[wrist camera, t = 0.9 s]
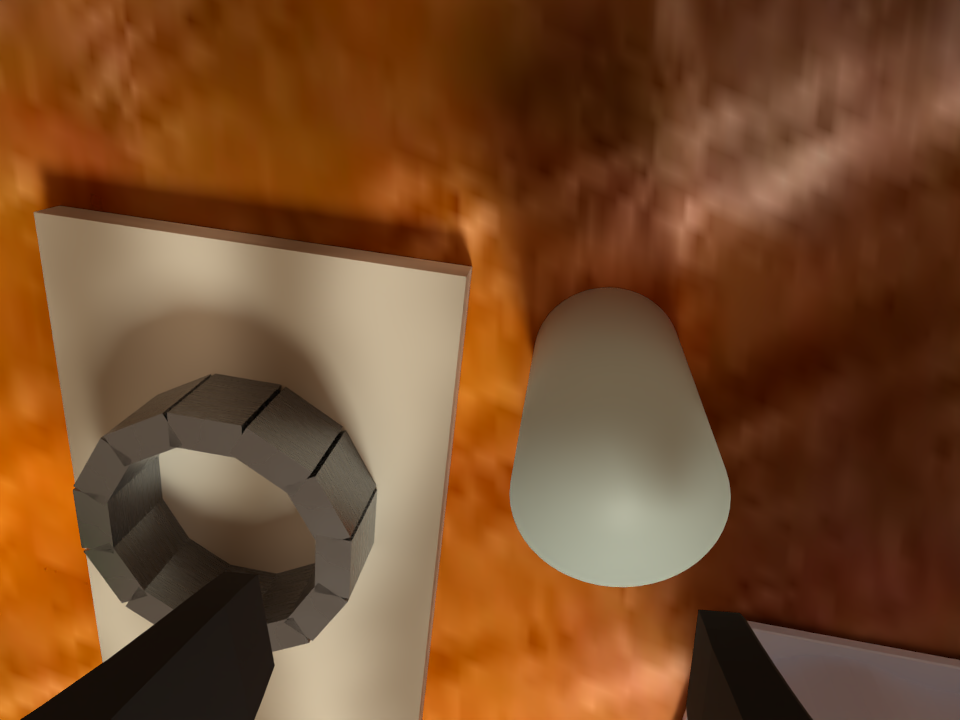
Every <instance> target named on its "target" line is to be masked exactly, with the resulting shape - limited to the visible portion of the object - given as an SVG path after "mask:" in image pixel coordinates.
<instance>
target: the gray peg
mask: <svg viewBox="0 0 960 720" xmlns="http://www.w3.org/2000/svg"><path fill="white" fill-rule="evenodd" d="M730 500H731V493H730V483H729V479H728V476H727V472H726V469H725V466H724V463H723V461H722V458H721V455H720V452H719V449H718V447H717V444H716V441H715V438H714V436H713V433H712V430H711V427H710V424H709V422H708V419H707V416H706V413H705V411H704V408H703V405H702V402H701V399H700V397H699V394H698V391H697V388H696V386H695V383H694V380H693V377H692V374H691V372H690V369H689V366H688V363H687V361H686V358H685V355H684V352H683V349H682V347H681V344H680V341H679V338H678V336H677V333H676V331H675V328H674V326H673V324H672V322H671V321H670V319H669V317H668V316H667V315H666V314H665V312H664V311H663V310H662V309H661V308H660V307H659V306H658V305H656V304H655V303H654V302H653V301H651V300H650V299H648V298H646V297H645V296H643V295H641V294H639V293H636V292H633V291H630V290H626V289H621V288H611V287H606V288H595V289H590V290H586V291H583V292H580V293H578V294H575V295H573V296H571V297H569V298H568V299H566V300H564V301H563V302H561V303H560V304H559V305H558V306H556V307H555V308H554V309H553V310H552V311H551V312H550V313H549V315H548V316H547V318H546V319H545V320H544V322H543V324H542V325H541V327H540V329H539V332H538V334H537V337H536V342H535V346H534V352H533V358H532V363H531V369H530V375H529V380H528V386H527V392H526V398H525V403H524V409H523V415H522V420H521V426H520V432H519V437H518V443H517V449H516V455H515V460H514V466H513V472H512V477H511V484H510V504H511V509H512V514H513V518H514V520H515V523H516V525H517V528H518V530H519V531H520V533H521V535H522V537H523V538H524V540H525V541H526V542H527V544H528V545H529V546H530V548H531V549H532V550H533V551H534V552H535V553H536V554H537V555H538V556H539V557H540V558H541V559H543V560H544V561H545V562H546V563H548V564H549V565H550V566H552V567H554V568H555V569H557V570H558V571H560V572H562V573H564V574H566V575H568V576H570V577H573V578H575V579H578V580H581V581H584V582H588V583H592V584H596V585H602V586H610V587H633V586H642V585H647V584H653V583H656V582H659V581H663V580H666V579H668V578H671V577H673V576H675V575H678V574H679V573H681V572H683V571H685V570H687V569H688V568H690V567H691V566H693V565H694V564H695V563H697V562H698V561H699V560H700V559H701V558H703V557H704V556H705V555H706V554H707V553H708V552H709V551H710V549H711V548H712V547H713V546H714V544H715V543H716V542H717V540H718V538H719V537H720V535H721V533H722V532H723V529H724V527H725V524H726V522H727V519H728V514H729V510H730Z"/></svg>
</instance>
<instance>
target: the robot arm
mask: <svg viewBox="0 0 960 720" xmlns="http://www.w3.org/2000/svg"><path fill="white" fill-rule="evenodd" d="M274 666H275V664H274V659H273V653H272V648H271V643H270V637H269V632H268V627H267V621H266V616H265V610H264V605H263V600H262V594H261V589H260V584H259V578H258V574H248V573H235V572H223V573H221V574H220V575H219V576H217V577H216V578H214V579H213V580H212V581H210V582H209V583H208V584H206V585H205V586H204V587H202V588H201V589H200V590H198V591H197V592H196V593H194V594H193V595H192V596H190V597H189V598H188V599H187V600H185V601H184V602H183V603H181V604H180V605H179V606H177V607H176V608H175V609H174V610H172V611H171V612H170V613H168V614H167V615H166V616H164V617H163V618H162V619H161V620H159V621H158V622H157V623H155V624H154V625H153V626H151V627H150V628H149V629H147V630H146V631H145V632H143V633H142V634H141V635H139V636H138V637H137V638H135V639H134V640H133V641H131V642H130V643H129V644H127V645H126V646H125V647H123V648H122V649H121V650H119V651H118V652H117V653H116V654H114V655H113V656H112V657H110V658H109V659H107V660H106V661H105V662H103V663H102V664H100V665H99V666H98V667H96V668H95V669H93V670H92V671H90V672H89V673H88V674H86V675H85V676H83V677H82V678H80V679H79V680H78V681H76V682H75V683H73V684H72V685H70V686H69V687H68V688H66V689H65V690H63V691H62V692H60V693H59V694H58V695H56V696H55V697H53V698H52V699H50V700H49V701H48V702H46V703H45V704H43V705H42V706H40V707H39V708H37V709H36V710H34V711H33V712H31V713H30V714H28V715H27V716H25V717H24V718H22V719H20V720H255V717H256V714H257V712H258V709H259V707H260V704H261V702H262V699H263V697H264V694H265V691H266V688H267V686H268V683H269V680H270V677H271V675H272V672H273V669H274ZM682 720H960V660H957V659H951V658H946V657H941V656H935V655H930V654H924V653H919V652H914V651H908V650H903V649H897V648H892V647H887V646H881V645H876V644H870V643H865V642H860V641H854V640H849V639H844V638H838V637H833V636H827V635H822V634H817V633H811V632H806V631H800V630H795V629H790V628H784V627H779V626H773V625H768V624H763V623H757V622H752V621H747V620H746V619H745V618H744V617H743V616H742V615H741V614H740V613H733V612H721V611H708V610H698V618H697V626H696V633H695V641H694V649H693V657H692V664H691V672H690V680H689V688H688V696H687V703H686V710H685V713H684V716H683V719H682Z"/></svg>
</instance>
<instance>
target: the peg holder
mask: <svg viewBox="0 0 960 720" xmlns="http://www.w3.org/2000/svg"><path fill="white" fill-rule="evenodd" d="M34 217H35V223H36V230H37V237H38V243H39V250H40V256H41V263H42V269H43V276H44V282H45V289H46V295H47V302H48V308H49V315H50V321H51V328H52V334H53V341H54V347H55V354H56V361H57V367H58V374H59V380H60V387H61V393H62V400H63V406H64V413H65V419H66V426H67V432H68V439H69V445H70V452H71V458H72V465H73V472H74V478H75V484H74V487H75V489H73V494H74V501H75V507H76V513H77V520H78V526H79V533H80V539H81V546H82V548H85V550H84V553H85V554H86V556H87V563H88V569H89V576H90V583H91V589H92V596H93V602H94V609H95V615H96V622H97V628H98V635H99V641H100V648H101V654H102V661H103V662H105V661H106V660H107V659H109V658H110V657H112V656H113V655H114V654H116V653H117V652H118V651H119V650H121V649H122V648H123V647H125V646H126V645H127V644H129V643H130V642H131V641H133V640H134V639H135V638H137V637H138V636H139V635H141V634H142V633H143V632H145V631H146V630H147V629H149V628H150V627H151V626H153V625H154V624H155V623H157V622H158V621H159V620H161V619H162V618H163V617H164V616H166V615H167V614H168V613H170V612H171V611H172V610H174V609H175V608H176V607H177V606H179V605H180V604H181V603H183V602H184V601H185V600H187V599H188V598H189V597H190V596H192V595H193V594H194V593H196V592H197V591H198V590H200V589H201V588H202V587H204V586H205V585H206V584H208V583H209V582H210V581H212V580H213V579H214V578H216V577H217V576H219V575H220V574H221V573H223V572H235V573H248V574H258V578H259V584H260V589H261V594H262V600H263V605H264V610H265V616H266V621H267V627H268V632H269V637H270V643H271V648H272V653H273V659H274V664H275V666H274V669H273V672H272V675H271V677H270V680H269V683H268V686H267V688H266V691H265V694H264V697H263V699H262V702H261V704H260V707H259V709H258V712H257V714H256V717H255V720H422V715H423V706H424V697H425V688H426V679H427V670H428V661H429V652H430V643H431V634H432V625H433V616H434V607H435V598H436V589H437V580H438V571H439V562H440V553H441V544H442V535H443V526H444V517H445V507H446V498H447V489H448V480H449V471H450V462H451V453H452V444H453V435H454V426H455V417H456V408H457V399H458V390H459V381H460V372H461V363H462V354H463V345H464V336H465V327H466V318H467V309H468V300H469V291H470V281H471V272H472V267H471V266H464V265H457V264H451V263H444V262H437V261H430V260H424V259H417V258H410V257H403V256H397V255H390V254H383V253H376V252H370V251H363V250H356V249H349V248H343V247H336V246H329V245H322V244H316V243H309V242H302V241H295V240H289V239H282V238H275V237H268V236H262V235H255V234H248V233H241V232H235V231H228V230H221V229H214V228H208V227H201V226H194V225H187V224H181V223H174V222H167V221H160V220H154V219H147V218H140V217H133V216H127V215H120V214H113V213H106V212H100V211H93V210H86V209H79V208H73V207H66V206H56V207H52V208H48V209H44V210H40V211H36V212H34Z"/></svg>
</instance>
